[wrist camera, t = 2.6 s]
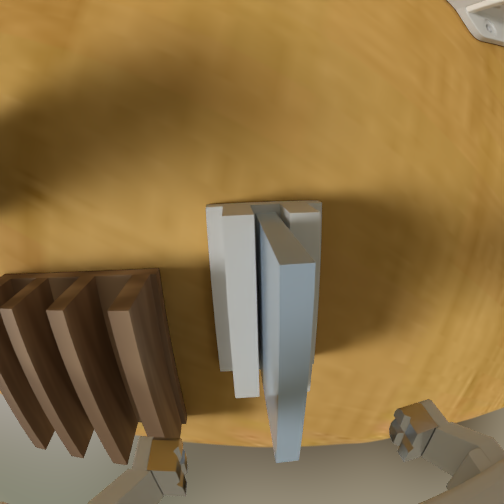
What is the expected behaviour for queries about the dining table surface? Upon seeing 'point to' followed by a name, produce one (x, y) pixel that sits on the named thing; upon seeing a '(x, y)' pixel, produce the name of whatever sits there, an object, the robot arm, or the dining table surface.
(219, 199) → the dining table surface
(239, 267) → the plate stand
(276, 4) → the dining table surface
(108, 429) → the dish rack
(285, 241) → the side plate
